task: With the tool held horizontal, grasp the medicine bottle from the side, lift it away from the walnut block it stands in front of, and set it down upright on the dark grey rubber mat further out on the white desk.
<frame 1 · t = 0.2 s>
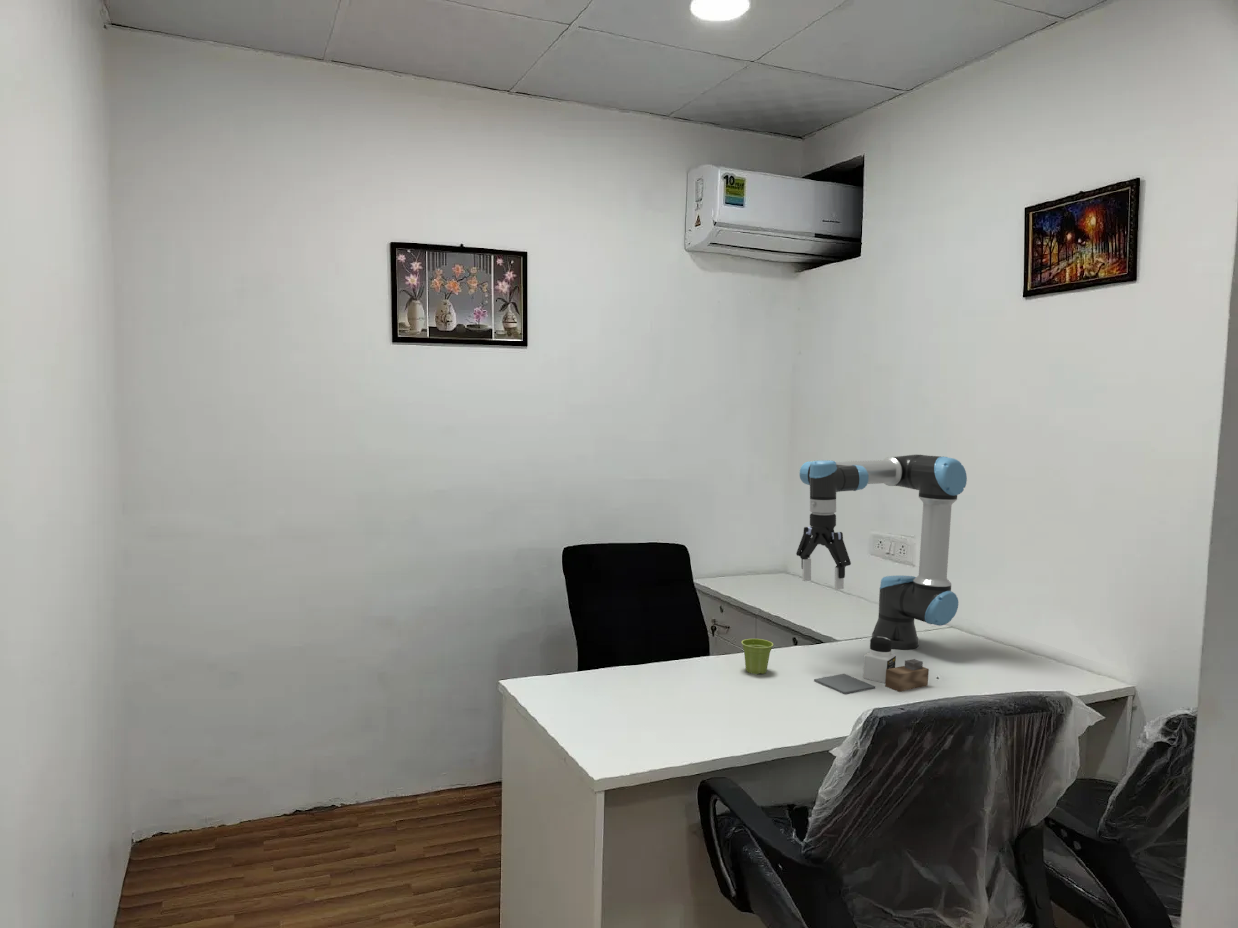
hand: (822, 584, 248), 27 cm above the table, tool pointing down, fingers open, 13 cm apart
medicine bottle: (878, 678, 248), on the table
mat: (844, 684, 241), on the table
plant pot: (755, 672, 250), on the table
plane body block: (906, 685, 241), on the table
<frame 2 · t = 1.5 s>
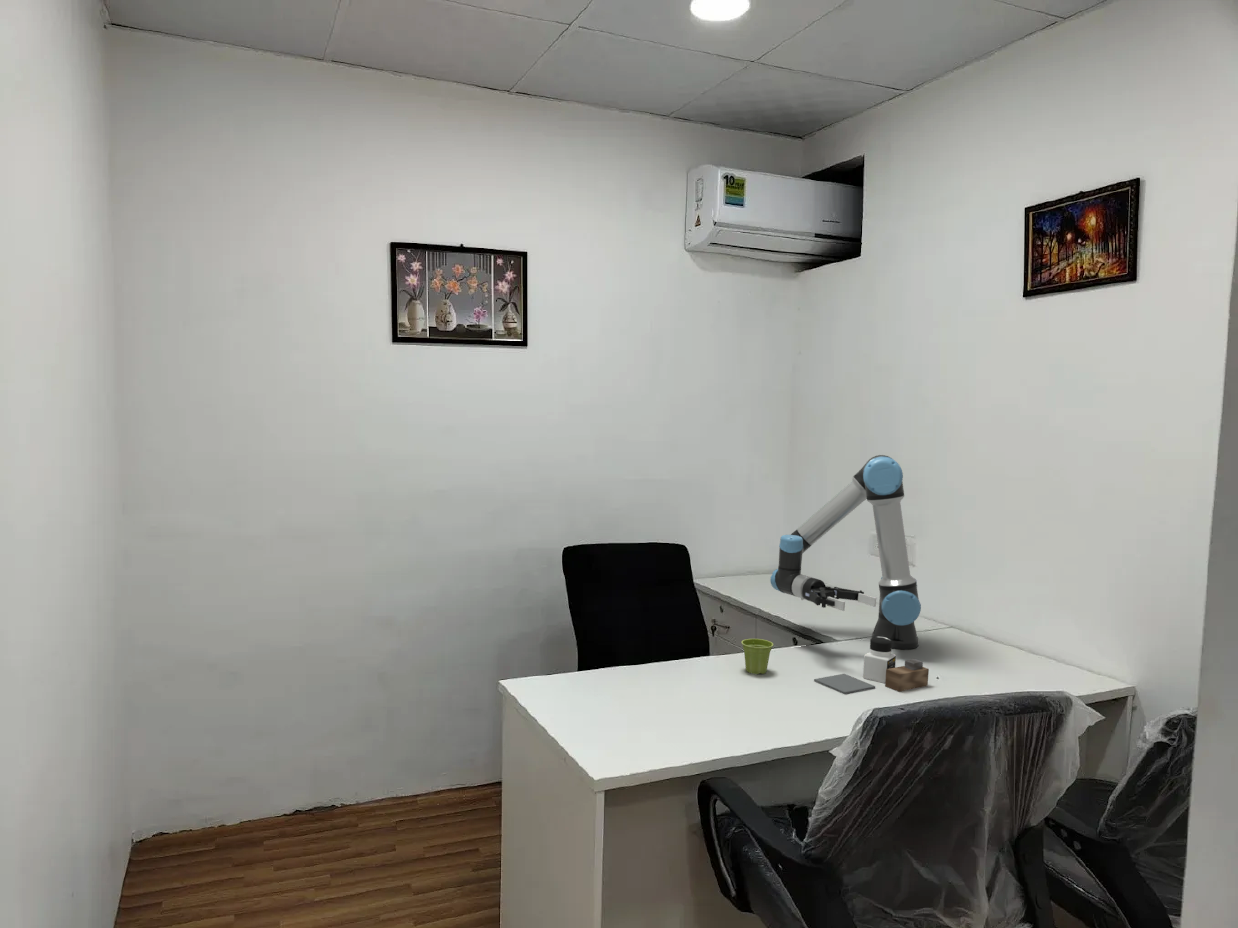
hand: (859, 604, 254), 20 cm above the table, tool horizontal, fingers open, 13 cm apart
nothing on the table moved.
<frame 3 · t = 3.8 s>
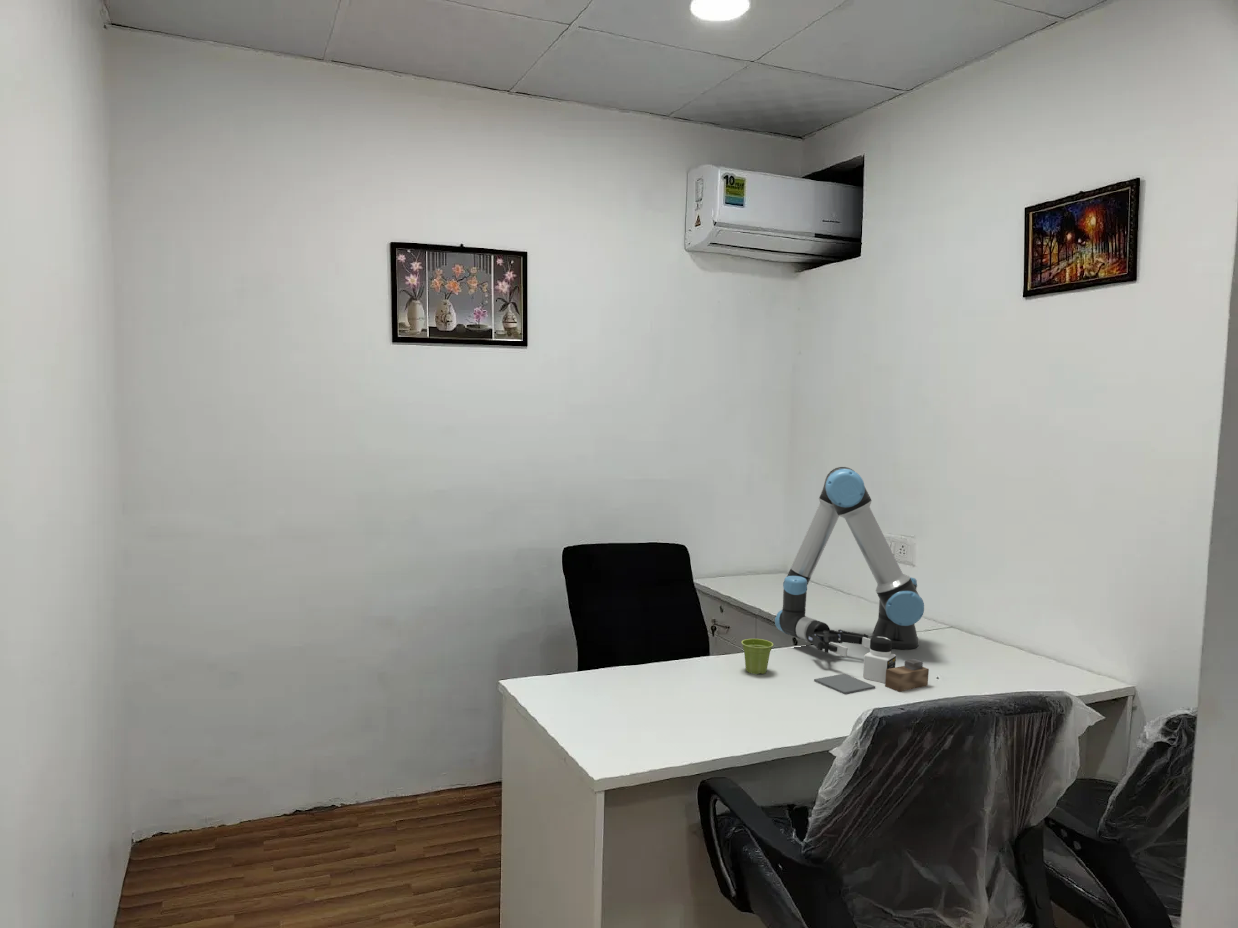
hand: (863, 649, 252), 7 cm above the table, tool horizontal, fingers open, 13 cm apart
nothing on the table moved.
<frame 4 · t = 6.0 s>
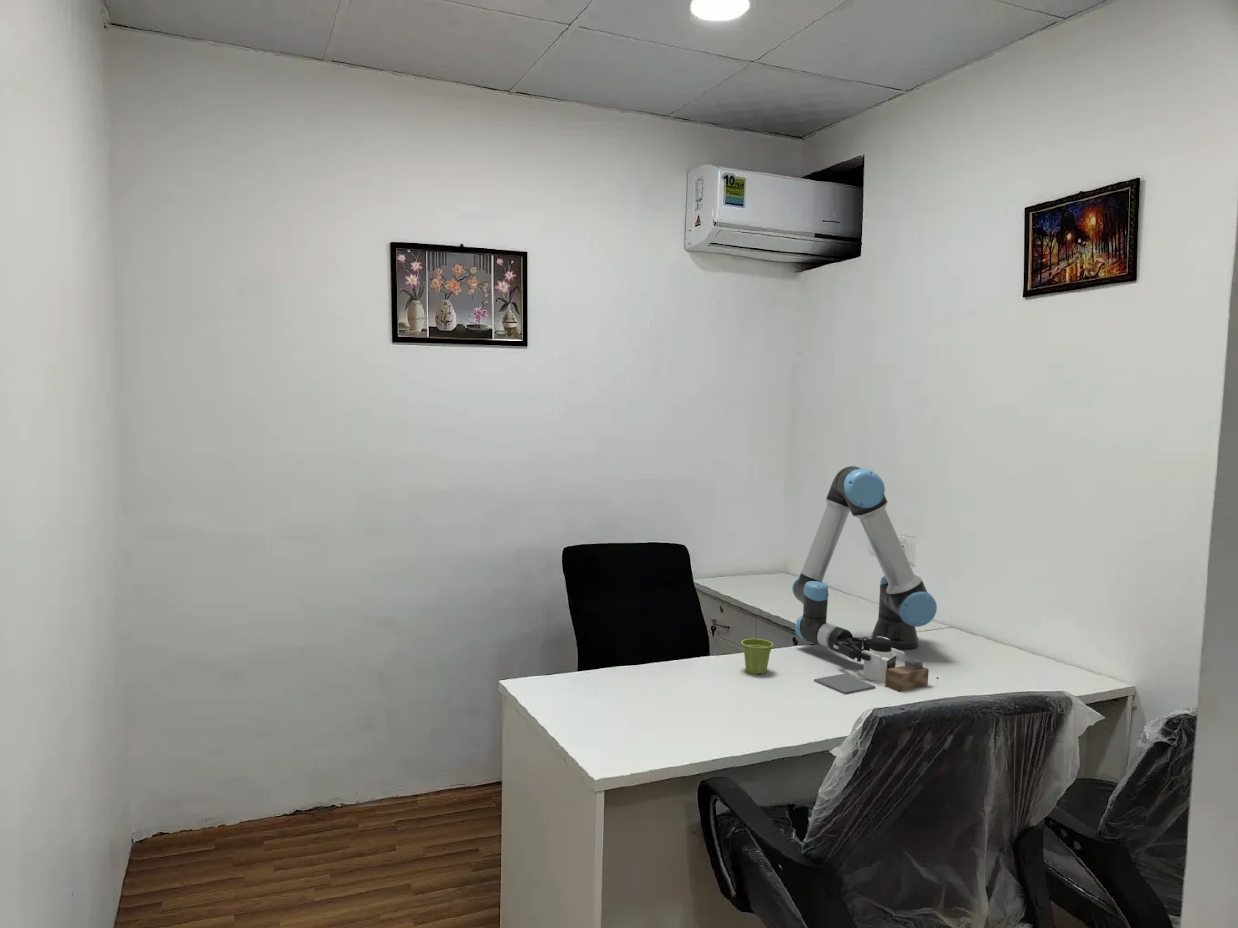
hand: (892, 659, 243), 7 cm above the table, tool horizontal, fingers closed on medicine bottle, 9 cm apart
medicine bottle: (878, 678, 248), on the table, touching gripper
everything else where it was.
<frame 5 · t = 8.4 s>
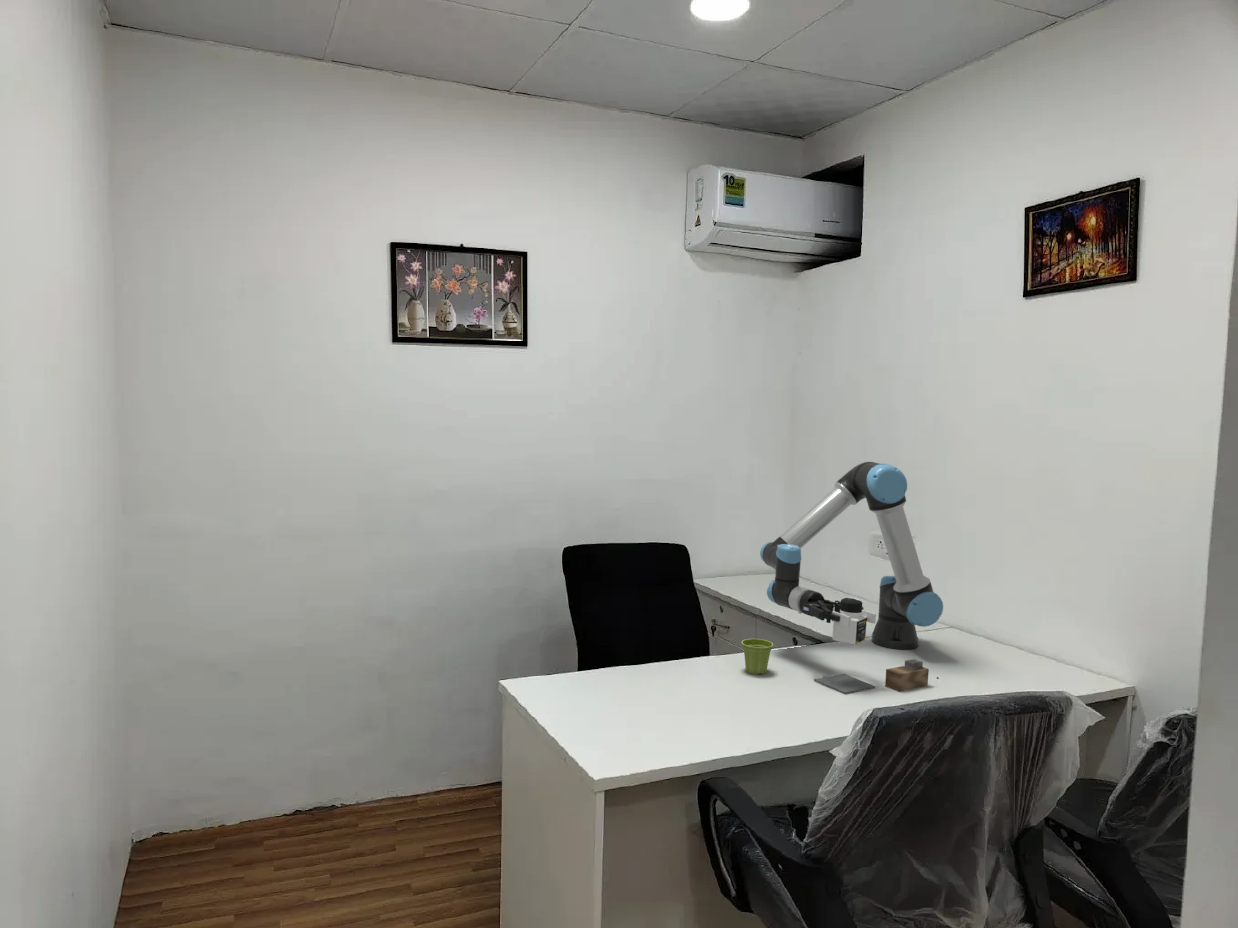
hand: (862, 620, 237), 20 cm above the table, tool horizontal, fingers closed on medicine bottle, 9 cm apart
medicine bottle: (848, 640, 241), point 12 cm above the table, touching gripper
everything else where it was.
when the fingers open (9 cm above the table, at t = 11.0 s): medicine bottle drops 1 cm, resting on mat.
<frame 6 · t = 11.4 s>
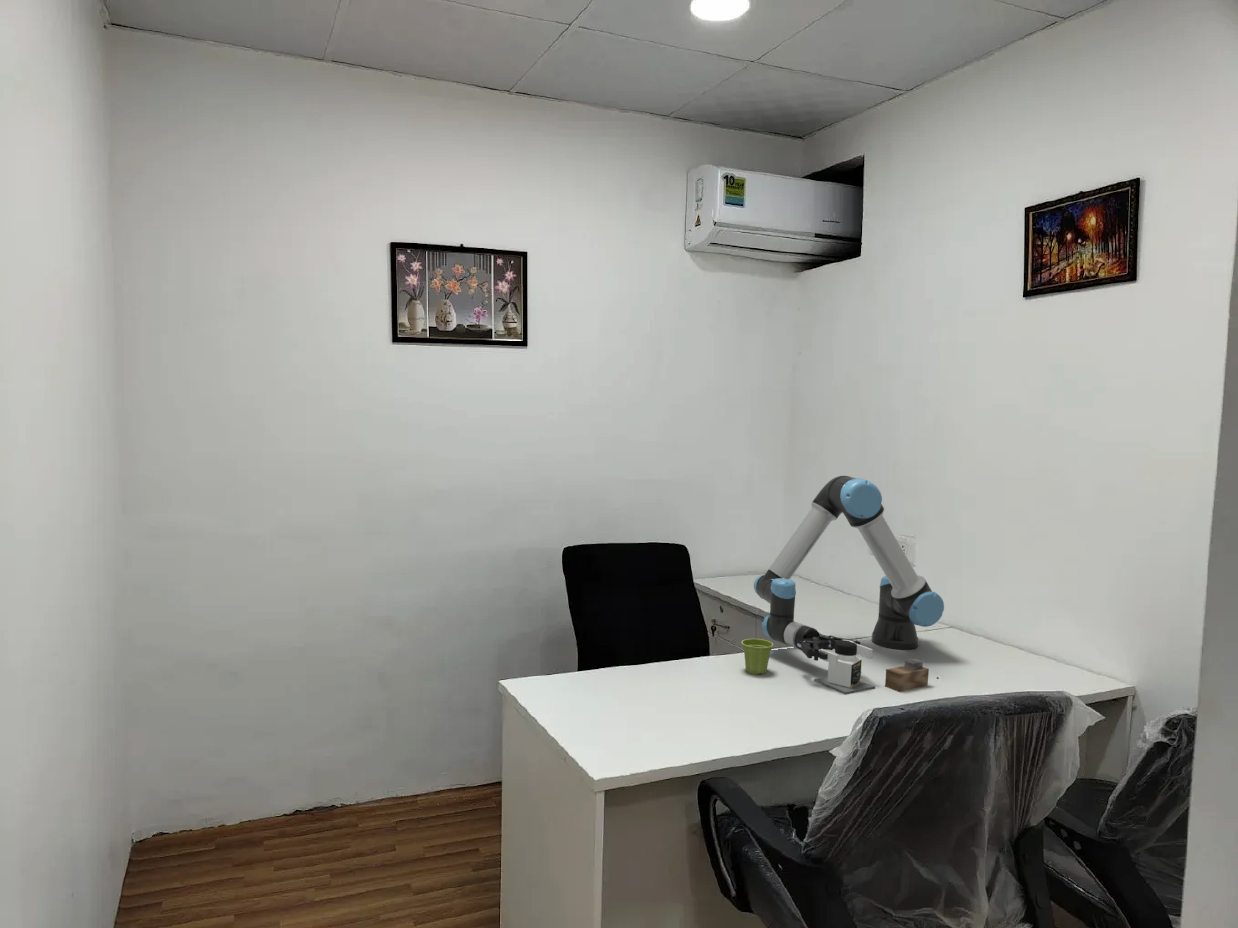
hand: (854, 657, 237), 9 cm above the table, tool horizontal, fingers open, 13 cm apart
medicine bottle: (843, 683, 241), resting on mat
everything else where it was.
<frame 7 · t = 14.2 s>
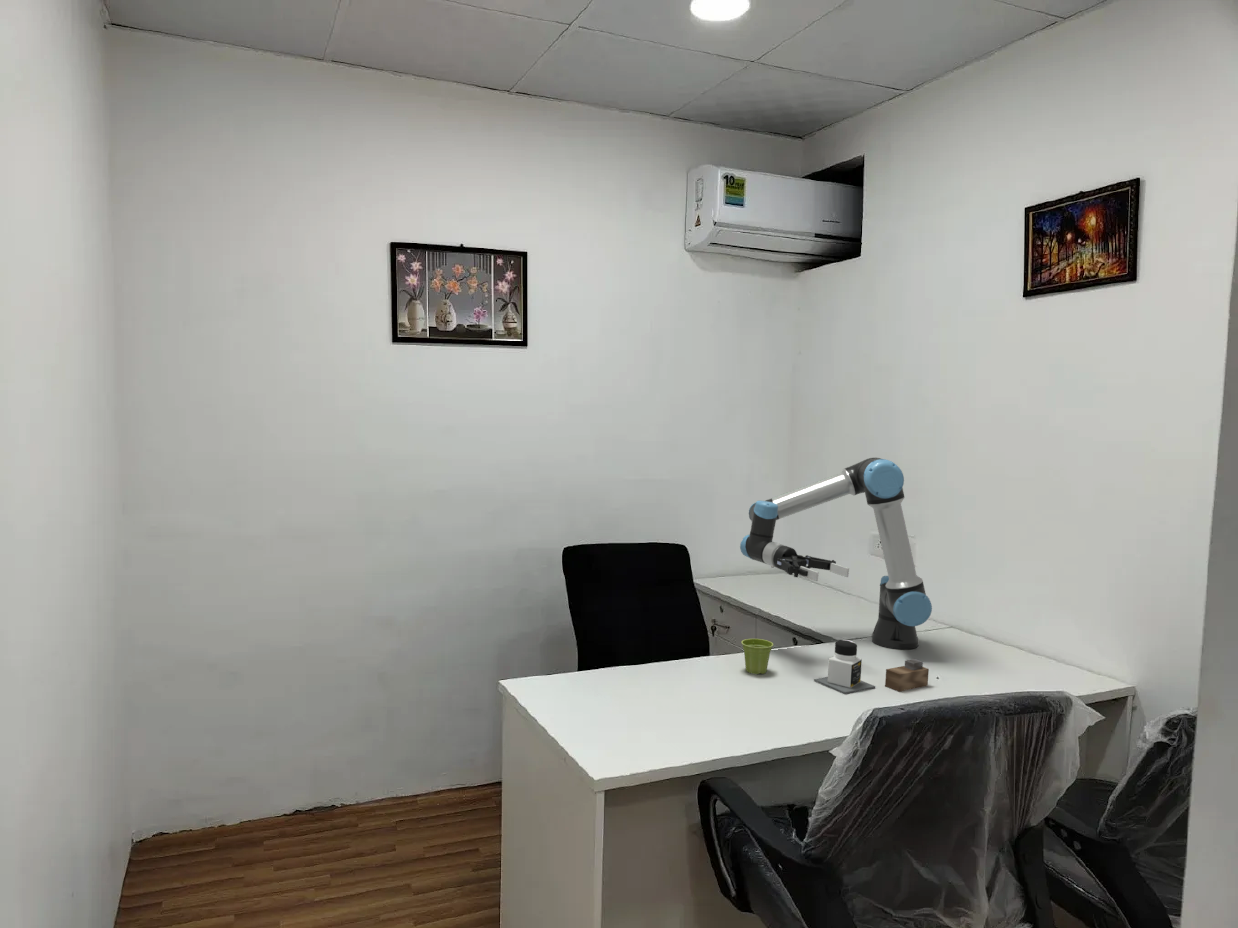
hand: (832, 574, 248), 30 cm above the table, tool horizontal, fingers open, 13 cm apart
nothing on the table moved.
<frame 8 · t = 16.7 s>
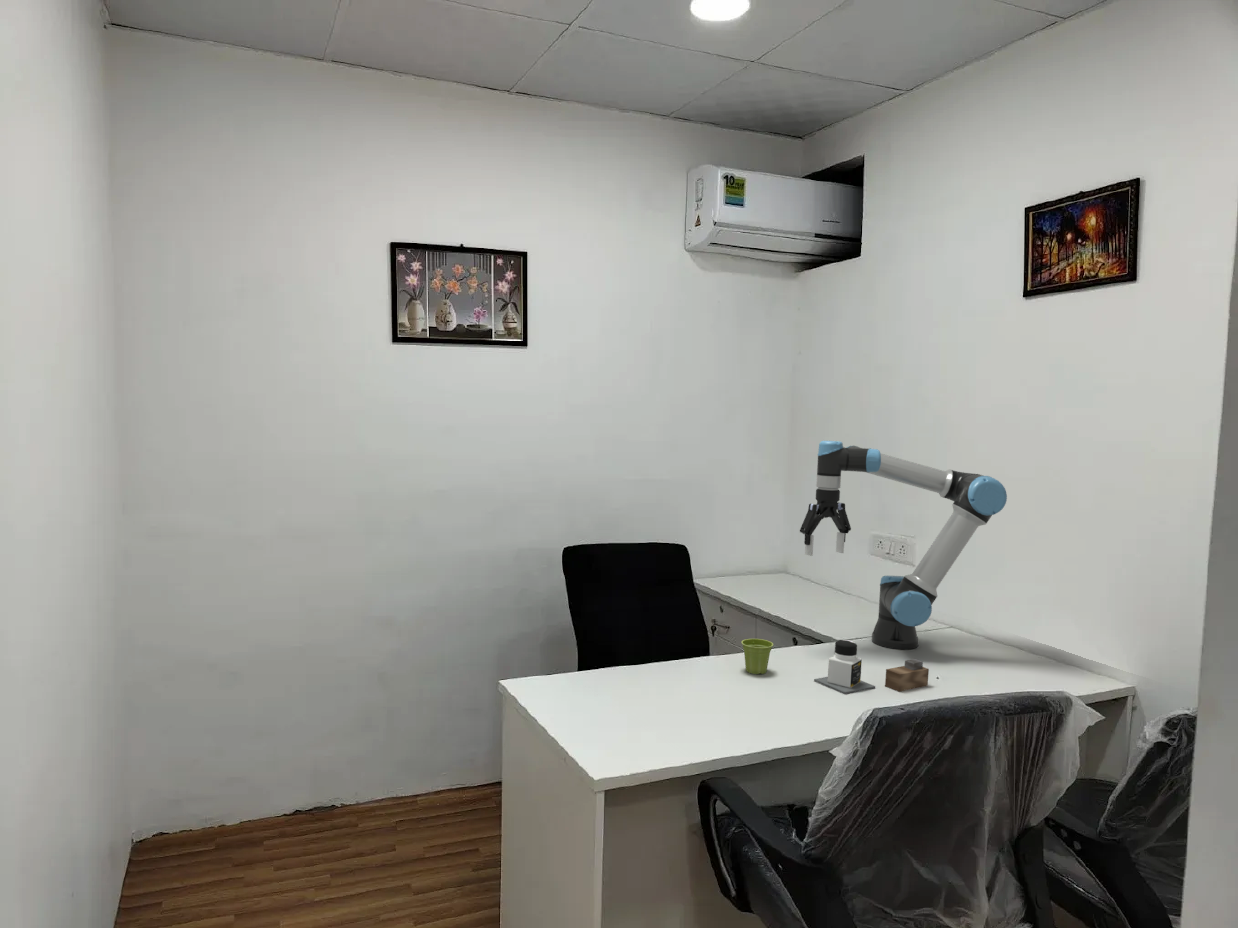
hand: (824, 553, 272), 32 cm above the table, tool pointing down, fingers open, 13 cm apart
nothing on the table moved.
at the end: medicine bottle 0.2 cm from the mat (horizontally); medicine bottle tilted 0°; medicine bottle resting on mat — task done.
